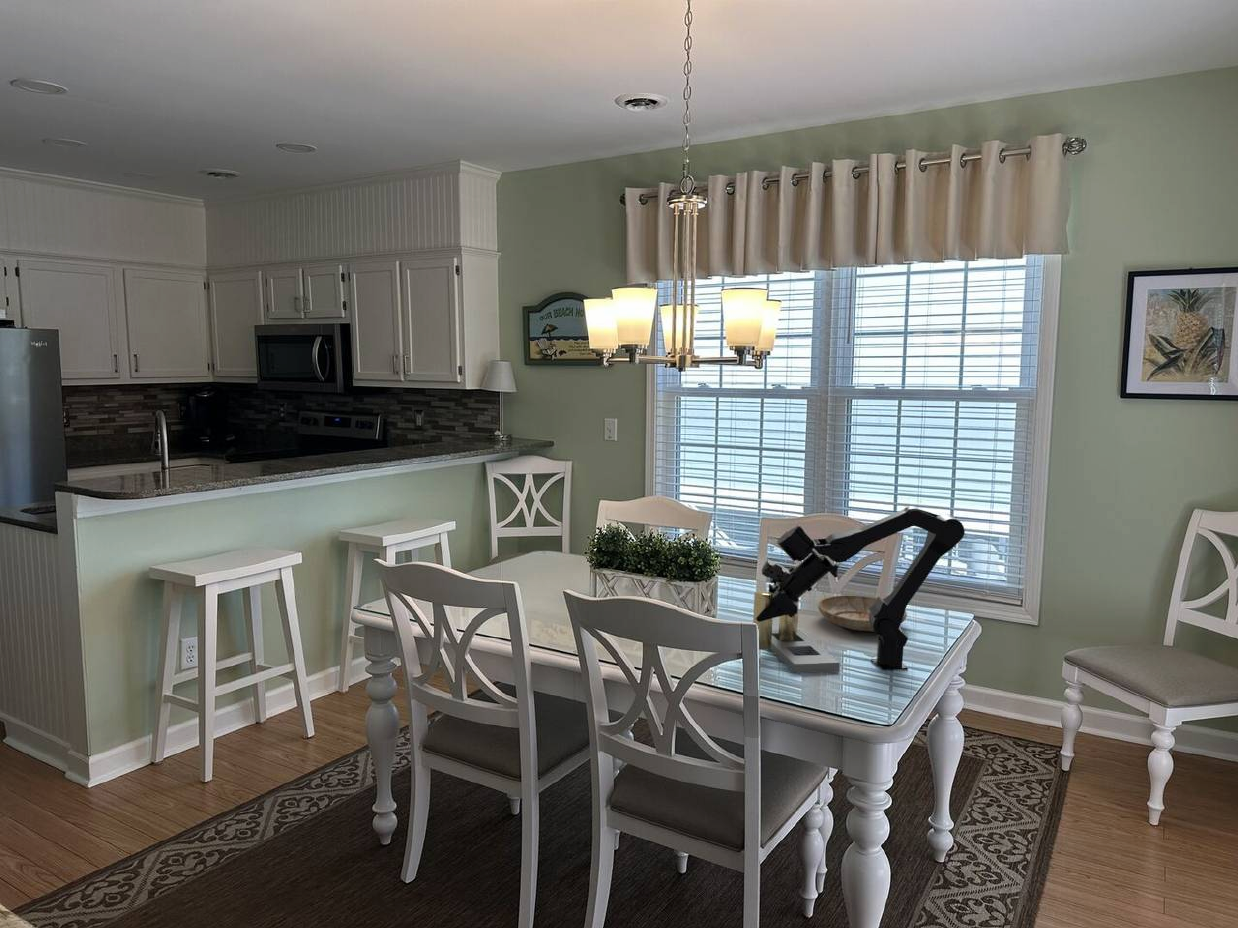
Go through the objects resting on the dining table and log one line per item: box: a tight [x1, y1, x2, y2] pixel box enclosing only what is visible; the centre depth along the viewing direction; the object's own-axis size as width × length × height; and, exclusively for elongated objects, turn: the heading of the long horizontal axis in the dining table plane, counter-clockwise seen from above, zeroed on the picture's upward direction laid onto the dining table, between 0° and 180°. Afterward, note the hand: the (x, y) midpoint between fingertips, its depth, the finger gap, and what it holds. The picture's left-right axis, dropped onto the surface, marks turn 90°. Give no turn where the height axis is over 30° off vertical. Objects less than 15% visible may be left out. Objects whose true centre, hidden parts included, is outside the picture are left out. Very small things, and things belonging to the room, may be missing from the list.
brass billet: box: [752, 590, 773, 651], centre depth 204 cm, size 4×4×13 cm
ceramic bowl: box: [817, 594, 908, 632], centre depth 233 cm, size 23×24×5 cm
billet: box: [778, 600, 800, 642], centre depth 214 cm, size 4×4×13 cm
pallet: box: [769, 629, 841, 674], centre depth 208 cm, size 24×11×2 cm, turn 10°
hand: (757, 617), depth 204 cm, fingers closed on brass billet, 4 cm apart
